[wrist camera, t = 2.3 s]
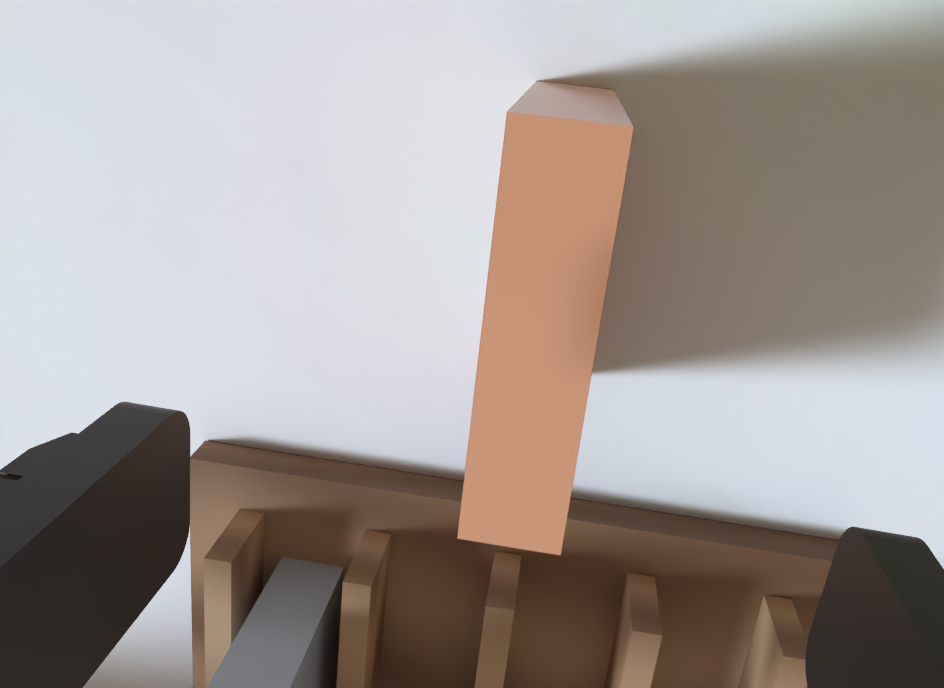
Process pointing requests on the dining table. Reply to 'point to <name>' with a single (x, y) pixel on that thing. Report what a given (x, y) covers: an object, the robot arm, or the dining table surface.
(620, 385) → the dining table surface
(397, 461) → the dining table surface
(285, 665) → the grey-blue thick slab
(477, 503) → the salmon pink rectangular prism
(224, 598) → the dish rack
